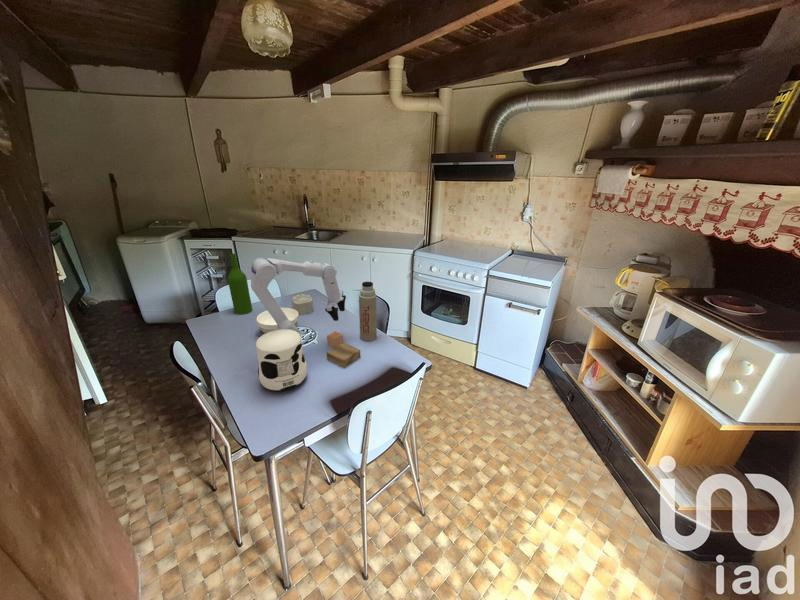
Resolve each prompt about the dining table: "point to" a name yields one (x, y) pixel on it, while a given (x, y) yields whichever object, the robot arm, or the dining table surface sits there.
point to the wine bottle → (239, 288)
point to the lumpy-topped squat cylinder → (302, 304)
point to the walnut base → (343, 355)
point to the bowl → (269, 323)
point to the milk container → (281, 360)
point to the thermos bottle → (367, 312)
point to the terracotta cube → (335, 339)
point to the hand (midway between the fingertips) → (339, 315)
